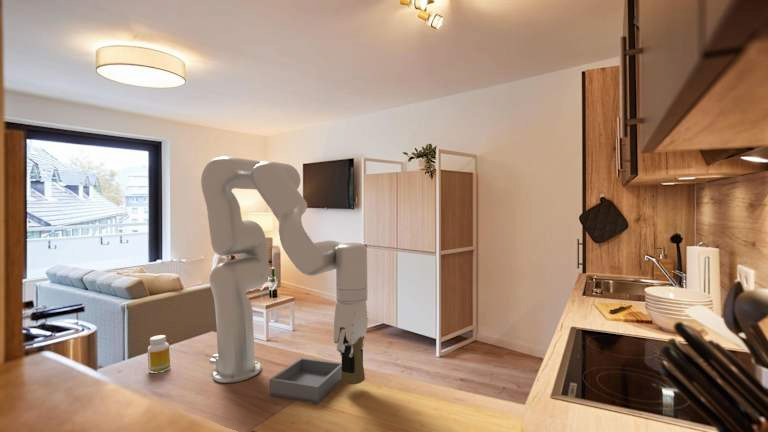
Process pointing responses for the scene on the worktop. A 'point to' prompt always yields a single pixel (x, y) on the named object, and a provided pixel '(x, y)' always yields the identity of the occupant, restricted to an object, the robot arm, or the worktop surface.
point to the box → (306, 380)
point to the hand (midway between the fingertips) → (352, 367)
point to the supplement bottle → (158, 354)
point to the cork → (359, 369)
